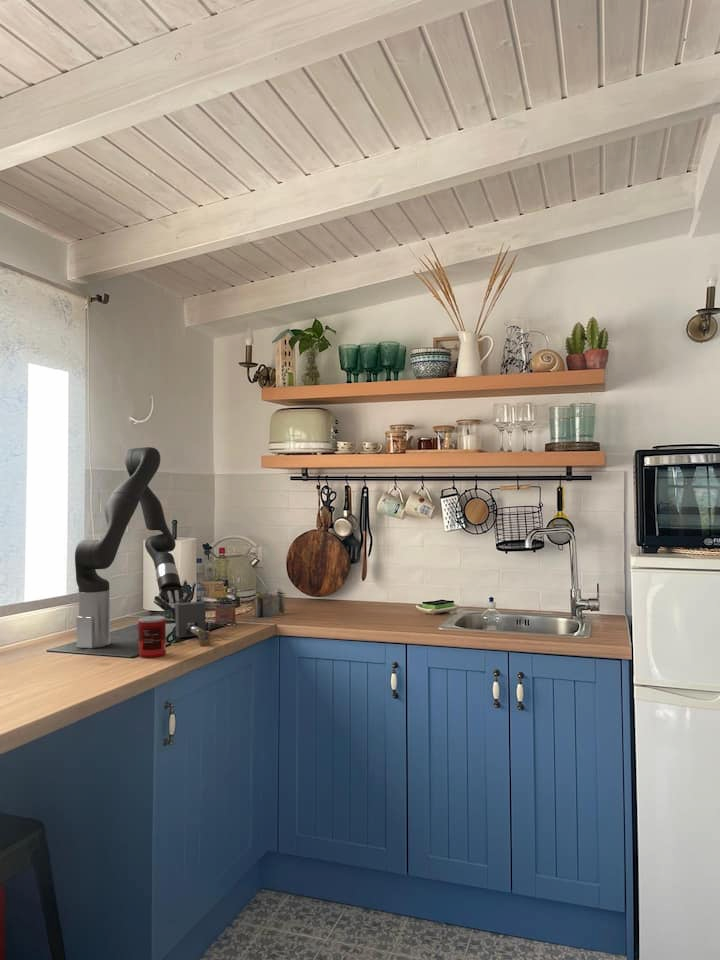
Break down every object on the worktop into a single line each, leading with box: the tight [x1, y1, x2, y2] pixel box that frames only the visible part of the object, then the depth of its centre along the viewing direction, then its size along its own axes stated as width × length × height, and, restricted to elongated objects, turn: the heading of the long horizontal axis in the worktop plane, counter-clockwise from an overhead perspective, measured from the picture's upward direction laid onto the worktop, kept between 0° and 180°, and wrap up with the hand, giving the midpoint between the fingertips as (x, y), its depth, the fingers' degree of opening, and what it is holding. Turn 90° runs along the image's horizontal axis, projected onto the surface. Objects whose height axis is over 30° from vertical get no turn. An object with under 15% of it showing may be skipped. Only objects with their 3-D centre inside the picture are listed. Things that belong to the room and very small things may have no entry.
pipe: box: [170, 623, 226, 647], centre depth 240 cm, size 23×18×4 cm
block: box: [175, 600, 207, 638], centre depth 245 cm, size 4×9×11 cm, turn 118°
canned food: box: [137, 615, 167, 659], centre depth 218 cm, size 8×8×11 cm
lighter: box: [214, 596, 237, 626], centre depth 266 cm, size 8×3×10 cm, turn 74°
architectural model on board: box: [254, 592, 286, 618], centre depth 284 cm, size 11×3×10 cm, turn 121°
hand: (177, 619), depth 248 cm, fingers closed
